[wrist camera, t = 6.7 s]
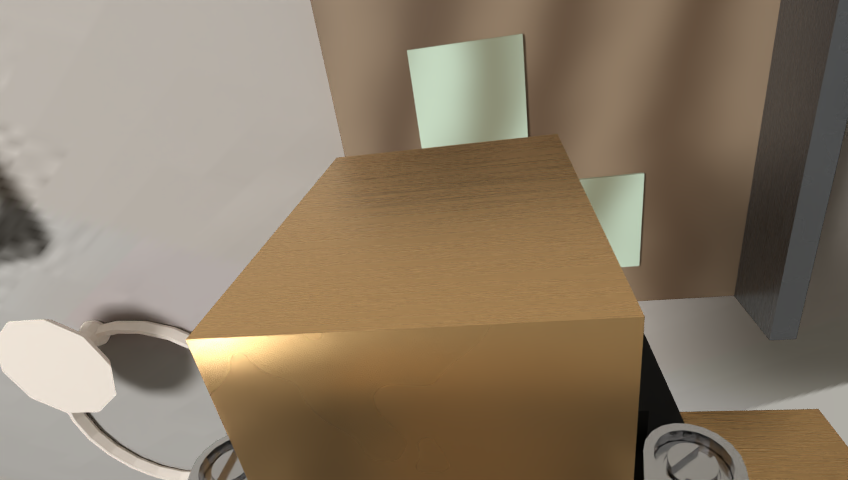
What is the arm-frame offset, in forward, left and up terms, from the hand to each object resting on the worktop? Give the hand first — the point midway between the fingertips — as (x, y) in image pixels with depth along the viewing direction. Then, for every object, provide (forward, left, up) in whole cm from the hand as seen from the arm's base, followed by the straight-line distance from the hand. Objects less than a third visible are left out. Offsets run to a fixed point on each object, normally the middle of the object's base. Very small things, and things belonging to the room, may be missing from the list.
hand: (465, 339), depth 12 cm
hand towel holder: (+27, +17, -18) cm, 36 cm away
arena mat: (-4, 0, -17) cm, 18 cm away
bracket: (-3, +2, -1) cm, 3 cm away
